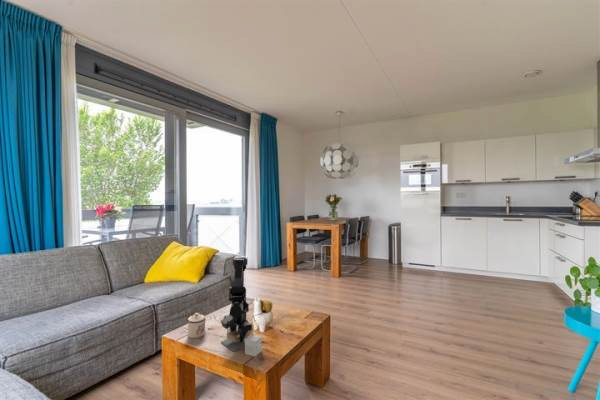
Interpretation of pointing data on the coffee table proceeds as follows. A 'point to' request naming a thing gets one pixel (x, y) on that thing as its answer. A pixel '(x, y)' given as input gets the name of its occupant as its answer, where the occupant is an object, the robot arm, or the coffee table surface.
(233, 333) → the lid
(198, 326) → the teacup with lid
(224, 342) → the mat
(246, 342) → the skincare box
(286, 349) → the coffee table surface
